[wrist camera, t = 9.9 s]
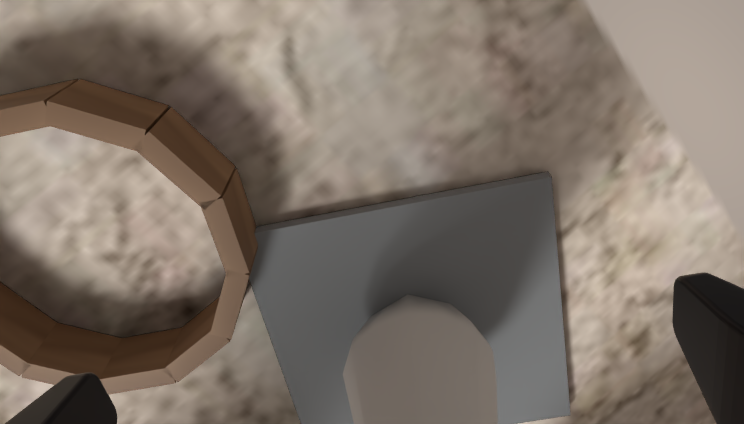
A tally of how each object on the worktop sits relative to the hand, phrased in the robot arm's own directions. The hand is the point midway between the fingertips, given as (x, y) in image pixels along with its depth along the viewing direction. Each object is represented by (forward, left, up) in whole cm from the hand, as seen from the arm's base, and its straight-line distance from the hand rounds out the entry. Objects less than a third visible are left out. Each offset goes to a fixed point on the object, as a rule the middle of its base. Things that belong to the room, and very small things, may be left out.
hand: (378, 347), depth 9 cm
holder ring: (-3, +11, -13) cm, 18 cm away
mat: (-10, 0, -13) cm, 17 cm away
